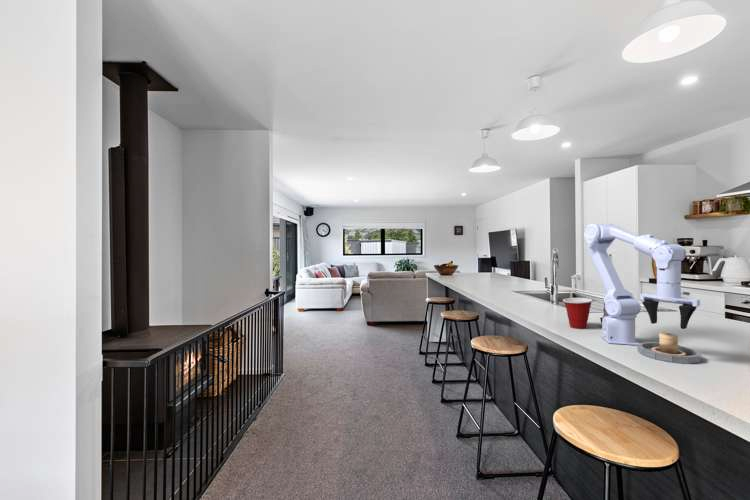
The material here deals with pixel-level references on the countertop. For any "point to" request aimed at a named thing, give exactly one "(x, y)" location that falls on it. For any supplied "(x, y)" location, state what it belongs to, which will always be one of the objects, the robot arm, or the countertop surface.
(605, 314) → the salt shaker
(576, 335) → the countertop surface
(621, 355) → the countertop surface
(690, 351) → the round tray
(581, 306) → the plastic cup
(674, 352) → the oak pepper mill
